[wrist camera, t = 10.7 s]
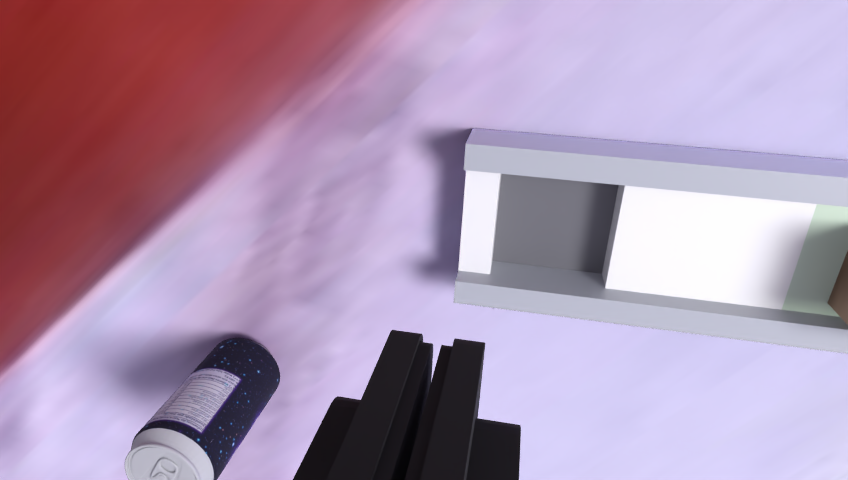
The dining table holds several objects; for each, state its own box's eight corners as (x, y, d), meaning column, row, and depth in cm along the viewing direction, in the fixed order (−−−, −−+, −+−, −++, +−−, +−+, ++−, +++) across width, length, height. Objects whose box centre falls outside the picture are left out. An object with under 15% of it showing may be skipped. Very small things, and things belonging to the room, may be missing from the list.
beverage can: (206, 367, 47) (106, 480, 36) (233, 318, 45) (135, 424, 34) (266, 404, 47) (185, 527, 37) (296, 357, 45) (219, 474, 34)
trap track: (472, 128, 36) (465, 143, 32) (1138, 185, 31) (1218, 211, 27) (461, 274, 40) (453, 302, 36) (1047, 345, 35) (1107, 387, 31)
